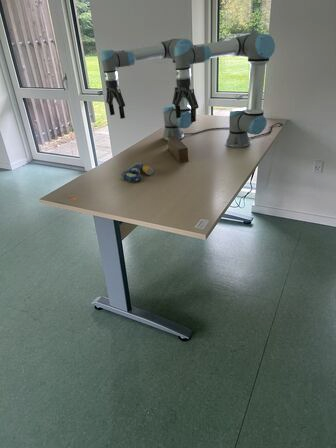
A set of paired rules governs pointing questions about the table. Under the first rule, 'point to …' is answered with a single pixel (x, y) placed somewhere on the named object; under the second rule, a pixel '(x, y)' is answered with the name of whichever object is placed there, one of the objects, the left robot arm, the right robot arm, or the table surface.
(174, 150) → the bar
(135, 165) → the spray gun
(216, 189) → the table surface
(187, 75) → the right robot arm
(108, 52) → the left robot arm
